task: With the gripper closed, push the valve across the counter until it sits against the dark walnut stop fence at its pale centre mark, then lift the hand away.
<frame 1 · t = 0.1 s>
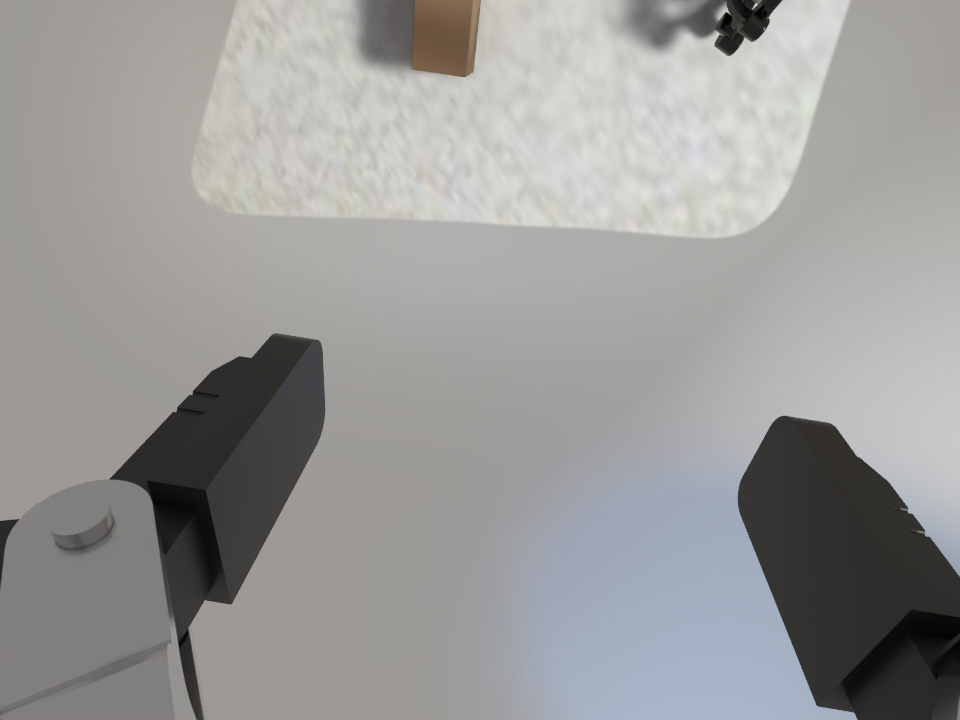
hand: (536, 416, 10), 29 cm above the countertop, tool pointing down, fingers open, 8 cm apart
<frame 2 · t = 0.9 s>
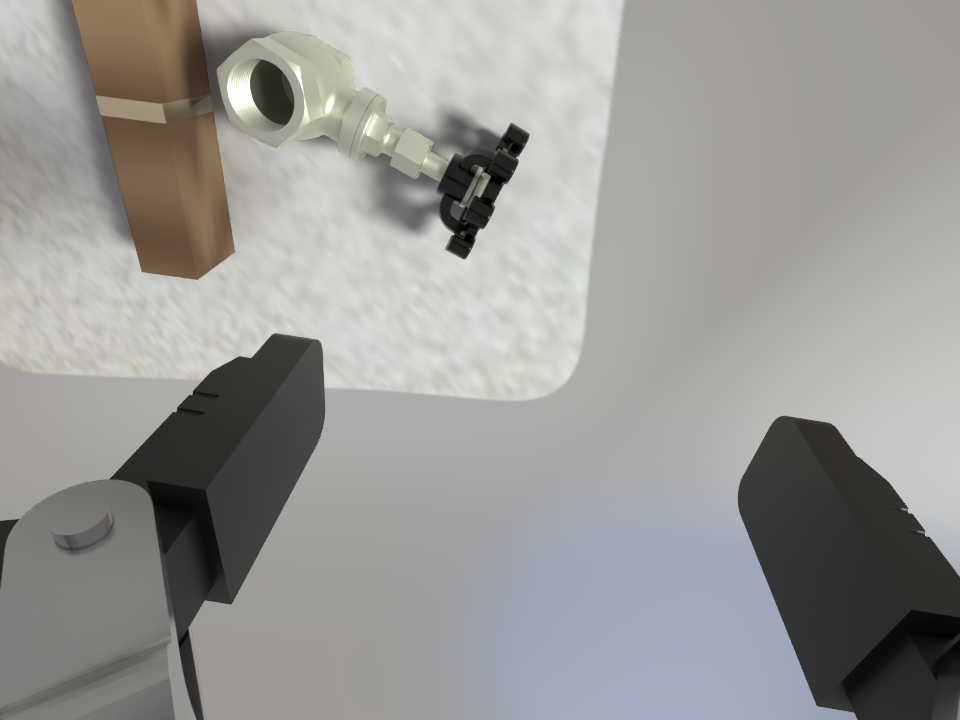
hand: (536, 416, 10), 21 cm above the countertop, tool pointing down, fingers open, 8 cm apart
walnut stop fence: (182, 98, 27), on the countertop
valve: (395, 122, 27), on the countertop
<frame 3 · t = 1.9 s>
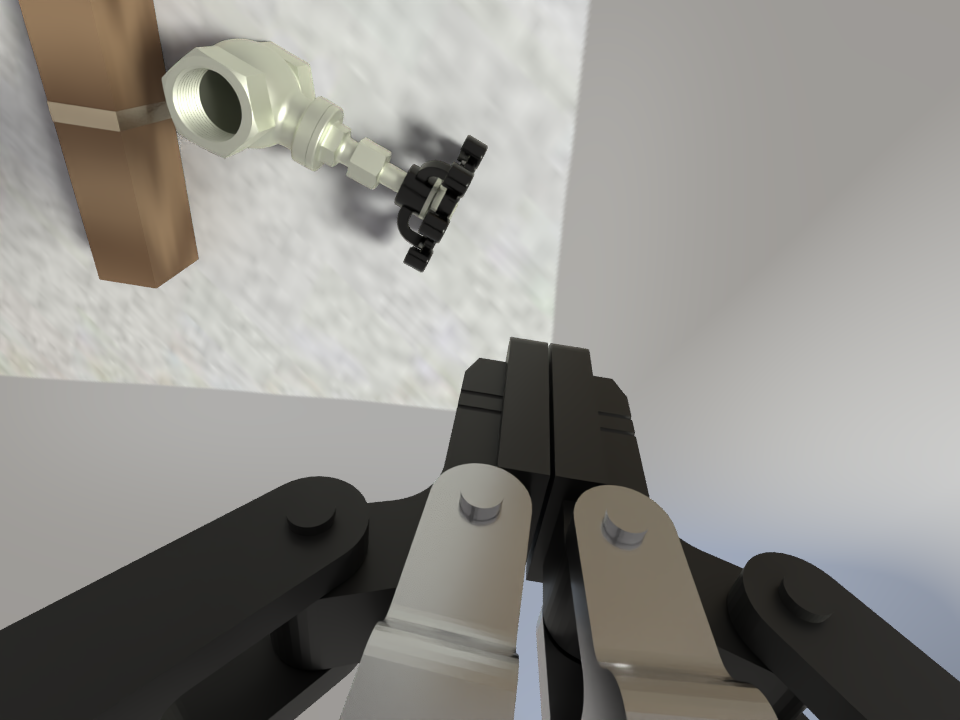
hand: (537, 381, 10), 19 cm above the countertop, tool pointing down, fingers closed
walnut stop fence: (142, 104, 26), on the countertop
valve: (357, 130, 26), on the countertop
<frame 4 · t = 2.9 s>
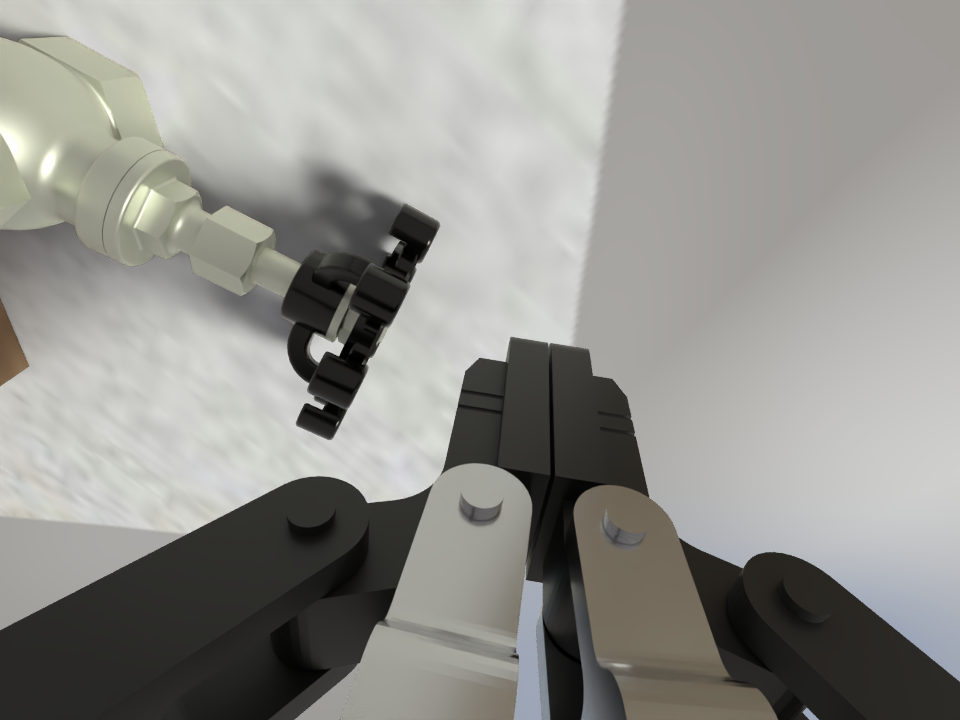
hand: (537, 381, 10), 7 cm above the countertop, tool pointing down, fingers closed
valve: (235, 180, 16), on the countertop
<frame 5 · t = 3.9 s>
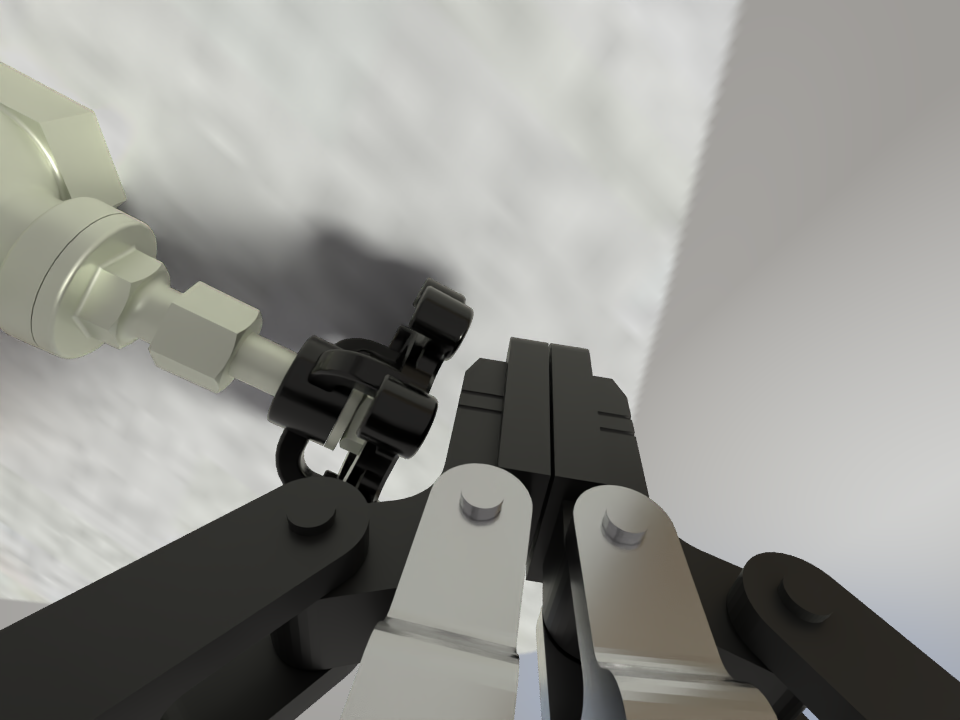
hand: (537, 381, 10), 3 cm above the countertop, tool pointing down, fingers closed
valve: (215, 236, 13), on the countertop, touching gripper
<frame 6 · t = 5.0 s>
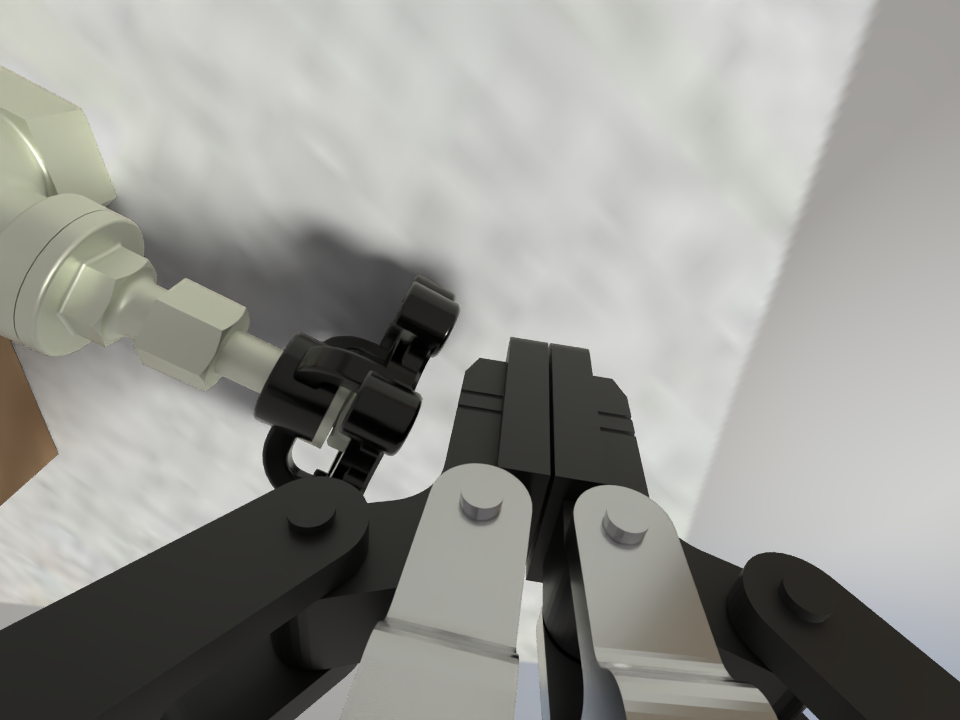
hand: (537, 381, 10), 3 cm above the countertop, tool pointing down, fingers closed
valve: (206, 234, 13), on the countertop
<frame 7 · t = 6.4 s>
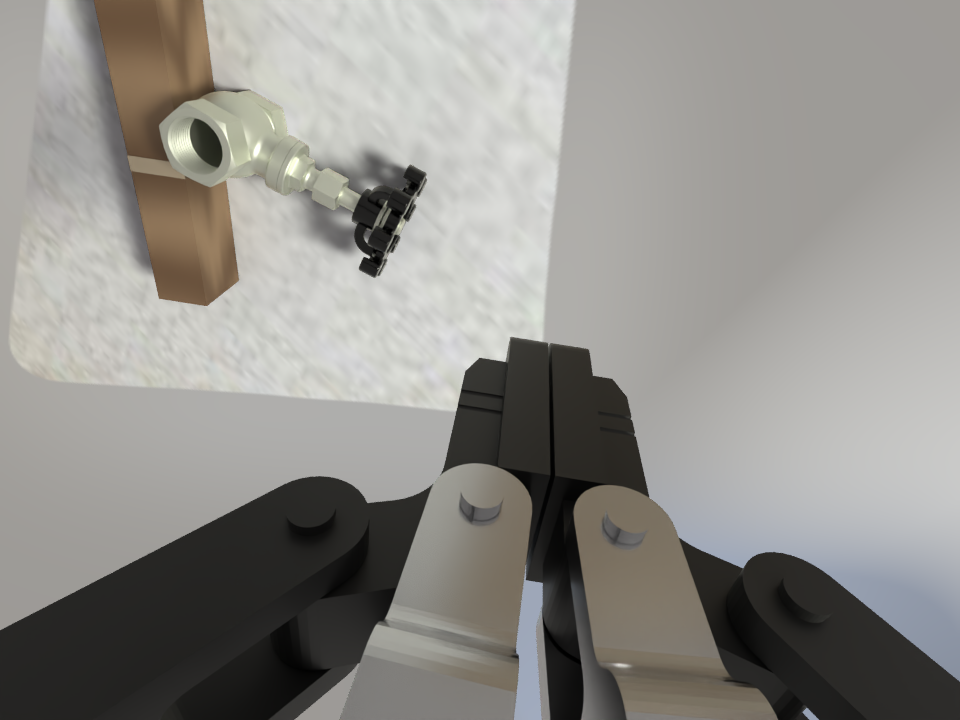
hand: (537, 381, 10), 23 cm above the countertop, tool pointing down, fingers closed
walnut stop fence: (198, 153, 32), on the countertop
valve: (324, 160, 32), on the countertop
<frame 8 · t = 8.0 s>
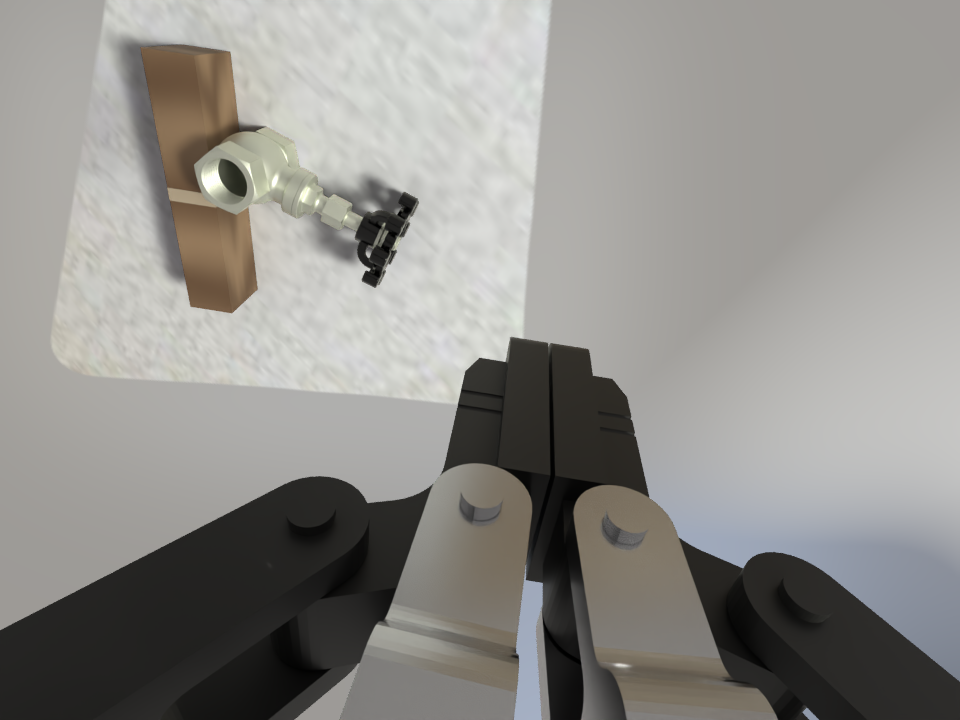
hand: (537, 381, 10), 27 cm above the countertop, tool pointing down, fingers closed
walnut stop fence: (224, 181, 37), on the countertop
valve: (330, 184, 37), on the countertop
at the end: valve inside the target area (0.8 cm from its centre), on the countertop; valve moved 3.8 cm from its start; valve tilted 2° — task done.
